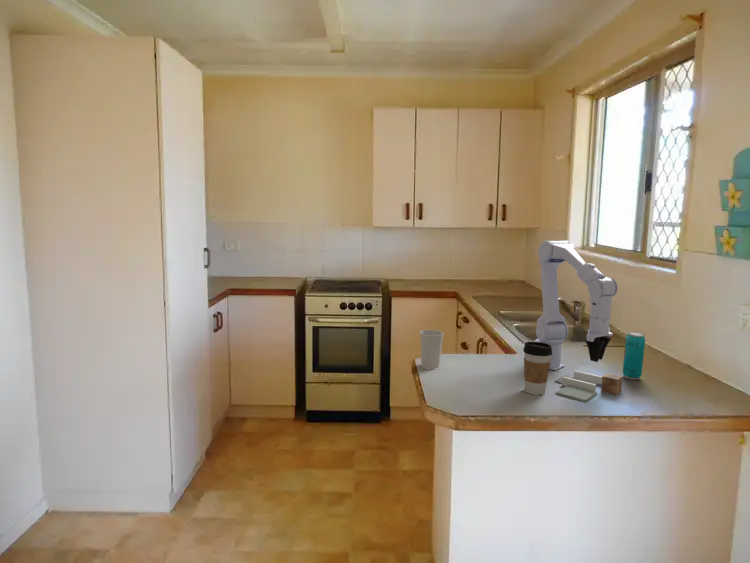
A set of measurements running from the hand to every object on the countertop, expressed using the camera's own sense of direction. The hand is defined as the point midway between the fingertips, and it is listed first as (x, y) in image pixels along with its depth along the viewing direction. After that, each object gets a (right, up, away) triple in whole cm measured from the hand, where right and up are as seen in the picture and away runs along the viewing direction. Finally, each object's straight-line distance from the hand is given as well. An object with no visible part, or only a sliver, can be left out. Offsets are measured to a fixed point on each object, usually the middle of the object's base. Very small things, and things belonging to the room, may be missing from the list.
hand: (596, 359), depth 168 cm
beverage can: (+17, -8, +12) cm, 22 cm away
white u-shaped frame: (-4, -8, +4) cm, 10 cm away
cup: (-50, -5, +19) cm, 53 cm away
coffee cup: (-20, -9, -4) cm, 22 cm away
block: (+4, -10, -2) cm, 10 cm away
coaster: (-8, -10, -5) cm, 13 cm away
